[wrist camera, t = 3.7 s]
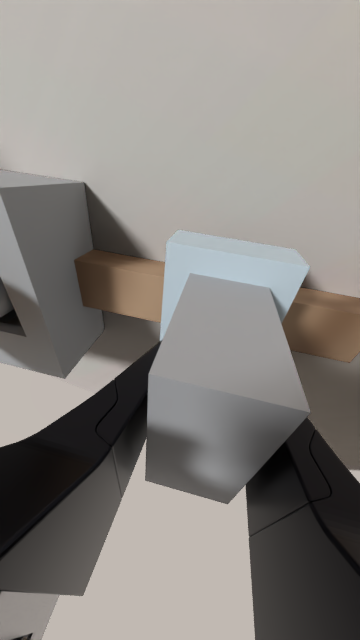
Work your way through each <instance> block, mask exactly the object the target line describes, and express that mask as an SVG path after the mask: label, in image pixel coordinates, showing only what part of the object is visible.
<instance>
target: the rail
mask: <svg viewBox="0 0 360 640" xmlns="http://www.w3.org/2000/svg"><path fill="white" fill-rule="evenodd" d="M74 263H75V268H76V273H77V278H78V283H79V288H80V293H81V298H82V303H83V306H85V307H90V308H94V309H99V310H104V311H108V312H113V313H118V314H122V315H127V316H132V317H137V318H141V319H146V320H151V321H155V322H160V323H161V315H162V301H163V286H164V272H165V262H160V261H154V260H149V259H144V258H138V257H133V256H127V255H122V254H116V253H111V252H105V251H100V250H95V249H93V250H91V251H89V252H88V253H86V254H84V255H82V256H80V257H79V258H77V259H75V260H74ZM282 327H283V330H284V333H285V336H286V339H287V342H288V345H289V348H290V350H292V351H296V352H301V353H306V354H311V355H315V356H320V357H325V358H329V359H334V360H339V361H343V362H348V363H350V362H351V361H352V360H353V358H354V357H355V356H356V355H357V354H358V353H359V352H360V298H356V297H350V296H345V295H339V294H334V293H328V292H323V291H318V290H312V289H307V288H301V287H300V288H299V290H298V292H297V294H296V296H295V298H294V300H293V302H292V304H291V306H290V308H289V310H288V312H287V314H286V316H285V318H284V320H283V322H282Z"/></svg>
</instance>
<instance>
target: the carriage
mask: <svg viewBox="0 0 360 640" xmlns="http://www.w3.org/2000/svg"><path fill="white" fill-rule="evenodd" d="M309 268H310V266H309V265H308V264H307V262H306V261H305V260H304V259H303V258H302V257H301V255H300V254H299V253H298V252H297V251H296V249H290V248H284V247H278V246H272V245H266V244H260V243H254V242H248V241H242V240H236V239H230V238H224V237H218V236H212V235H206V234H201V233H195V232H189V231H183V230H177V231H176V232H175V233H174V235H173V236H172V237H171V238H170V239H169V240H168V241H167V243H166V257H165V272H164V286H163V301H162V315H161V329H160V341H161V340H162V339H163V340H162V342H161V345H160V347H159V350H158V352H157V355H156V357H155V360H154V362H153V364H152V367H151V369H150V372H149V377H148V409H147V443H146V476H145V480H146V481H149V482H153V483H156V484H159V485H163V486H167V487H170V488H173V489H177V490H180V491H184V492H187V493H191V494H194V495H197V496H201V497H204V498H208V499H212V500H215V501H218V502H222V503H225V504H228V503H229V502H230V501H231V500H232V499H233V498H234V497H235V496H236V494H237V493H238V492H239V491H240V490H241V489H242V488H243V487H244V486H245V485H246V484H247V482H248V481H249V480H250V479H251V478H252V477H253V476H254V475H255V474H256V473H257V471H258V470H259V469H260V468H261V467H262V466H263V465H264V464H265V463H266V462H267V460H268V459H269V458H270V457H271V456H272V455H273V454H274V453H275V452H276V451H277V449H278V448H279V447H280V446H281V445H282V444H283V443H284V442H285V441H286V440H287V438H288V437H289V436H290V435H291V434H292V433H293V432H294V431H295V430H296V428H297V427H298V426H299V425H300V424H301V423H302V422H303V421H304V420H305V419H306V417H307V416H308V415H309V414H310V413H311V411H310V408H309V405H308V402H307V399H306V396H305V393H304V390H303V387H302V384H301V381H300V378H299V375H298V372H297V369H296V366H295V363H294V360H293V357H292V354H291V351H290V348H289V345H288V342H287V339H286V336H285V333H284V330H283V327H282V322H283V320H284V318H285V316H286V314H287V312H288V310H289V308H290V306H291V304H292V302H293V300H294V298H295V296H296V294H297V292H298V290H299V288H300V286H301V284H302V282H303V280H304V278H305V276H306V274H307V272H308V270H309Z"/></svg>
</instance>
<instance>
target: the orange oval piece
mask: <svg viewBox="0 0 360 640" xmlns="http://www.w3.org/2000/svg"><path fill="white" fill-rule="evenodd" d="M13 309H14V307H13V305H12V302H11V300H10V298H9V295H8V293H7V291H6V289H5V286H4V284H3V282H2V279H1V277H0V317H2V316H3V315H5V314H7V313H8V312H10V311H11V310H13Z"/></svg>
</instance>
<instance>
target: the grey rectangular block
mask: <svg viewBox="0 0 360 640" xmlns="http://www.w3.org/2000/svg"><path fill="white" fill-rule="evenodd" d="M91 250H93V243H92V236H91V229H90V222H89V214H88V207H87V200H86V193H85V185H84V182H79V181H72V180H66V179H59V178H52V177H46V176H39V175H33V174H26V173H20V172H13V171H6V170H0V277H1V279H2V282H3V284H4V286H5V289H6V291H7V293H8V295H9V298H10V300H11V302H12V305H13V307H14V309H13V310H11V311H10V312H8V313H7V314H5V315H3V316H2V317H0V363H4V364H8V365H12V366H16V367H20V368H24V369H28V370H32V371H36V372H40V373H44V374H48V375H52V376H56V377H60V378H64V379H65V378H66V377H67V375H68V374H69V373H70V372H71V371H72V369H73V368H74V367H75V366H76V364H77V363H78V362H79V361H80V359H81V358H82V357H83V356H84V354H85V353H86V352H87V351H88V349H89V348H90V347H91V346H92V344H93V343H94V342H95V341H96V340H97V338H98V337H99V336H100V335H101V333H102V332H103V331H104V323H103V316H102V310H99V309H94V308H90V307H85V306H83V303H82V298H81V293H80V288H79V283H78V278H77V273H76V268H75V263H74V260H75V259H77V258H79V257H80V256H82V255H84V254H86V253H88V252H89V251H91Z"/></svg>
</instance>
